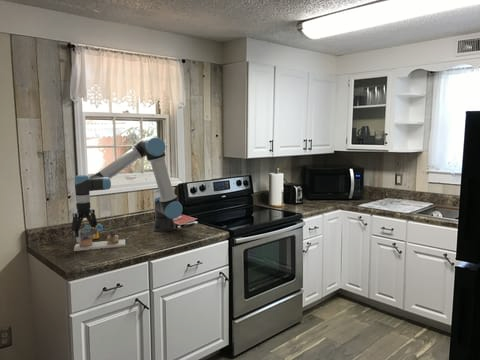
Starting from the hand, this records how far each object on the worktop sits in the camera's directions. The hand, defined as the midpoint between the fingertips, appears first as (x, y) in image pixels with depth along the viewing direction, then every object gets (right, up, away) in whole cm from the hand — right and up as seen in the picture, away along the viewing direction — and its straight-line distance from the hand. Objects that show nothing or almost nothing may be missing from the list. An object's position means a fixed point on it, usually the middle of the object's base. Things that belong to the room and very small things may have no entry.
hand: (85, 240), depth 222 cm
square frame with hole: (0, +3, 0) cm, 3 cm away
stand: (+14, -2, +5) cm, 15 cm away
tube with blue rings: (-3, -2, +20) cm, 21 cm away
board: (+8, -4, +3) cm, 9 cm away
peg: (0, -3, 0) cm, 3 cm away
